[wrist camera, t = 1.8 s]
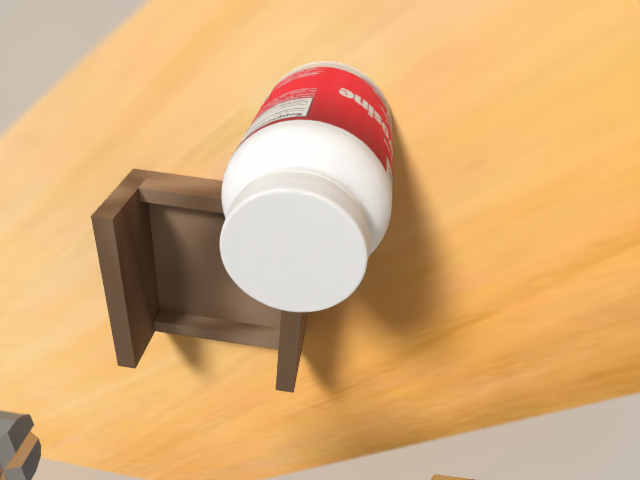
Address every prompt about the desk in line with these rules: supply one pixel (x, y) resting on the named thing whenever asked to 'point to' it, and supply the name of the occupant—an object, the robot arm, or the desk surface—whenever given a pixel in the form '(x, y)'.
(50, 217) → the desk surface
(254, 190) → the pill bottle
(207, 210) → the cradle
